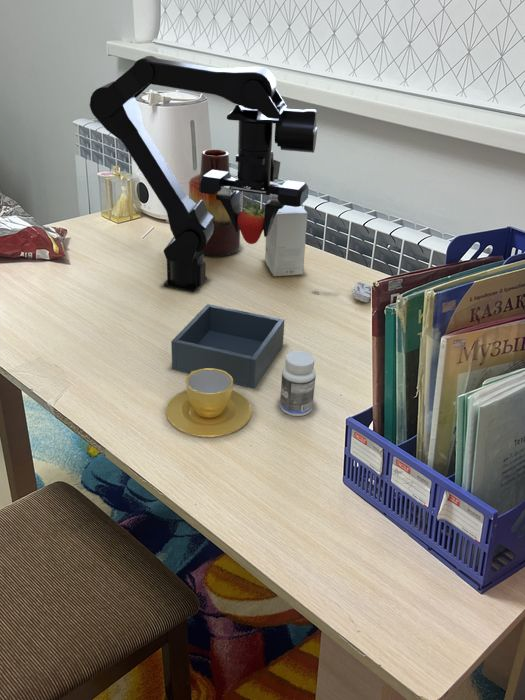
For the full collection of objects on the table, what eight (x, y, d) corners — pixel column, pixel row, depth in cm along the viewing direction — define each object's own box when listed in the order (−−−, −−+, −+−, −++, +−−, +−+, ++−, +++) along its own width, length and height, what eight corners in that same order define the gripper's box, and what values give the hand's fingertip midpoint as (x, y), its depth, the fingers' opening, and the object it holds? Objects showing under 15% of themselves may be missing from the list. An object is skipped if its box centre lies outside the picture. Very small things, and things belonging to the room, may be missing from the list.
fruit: (268, 249, 125) (270, 206, 121) (238, 250, 124) (239, 207, 120) (263, 238, 130) (264, 197, 126) (235, 239, 129) (235, 197, 125)
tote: (171, 369, 107) (171, 341, 104) (207, 329, 118) (207, 303, 115) (254, 388, 103) (255, 360, 101) (282, 346, 114) (284, 319, 112)
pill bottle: (278, 398, 101) (281, 348, 97) (309, 397, 102) (314, 348, 97) (281, 417, 97) (284, 366, 93) (314, 416, 98) (319, 366, 93)
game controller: (381, 303, 129) (383, 291, 128) (322, 306, 127) (323, 294, 126) (372, 290, 134) (374, 278, 133) (314, 293, 132) (315, 280, 131)
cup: (267, 422, 96) (269, 390, 93) (190, 449, 90) (189, 415, 88) (225, 380, 105) (225, 350, 102) (152, 402, 99) (150, 370, 96)
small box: (303, 275, 139) (308, 212, 132) (272, 276, 138) (276, 214, 131) (293, 259, 146) (297, 199, 139) (264, 260, 144) (266, 200, 138)
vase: (247, 243, 152) (250, 150, 142) (227, 260, 143) (228, 163, 133) (202, 234, 155) (202, 143, 145) (180, 251, 147) (178, 155, 136)
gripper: (319, 143, 122) (312, 227, 130) (221, 131, 127) (220, 212, 135) (302, 158, 113) (296, 247, 121) (197, 145, 118) (198, 231, 126)
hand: (252, 233), depth 126 cm, fingers closed on fruit, 5 cm apart
